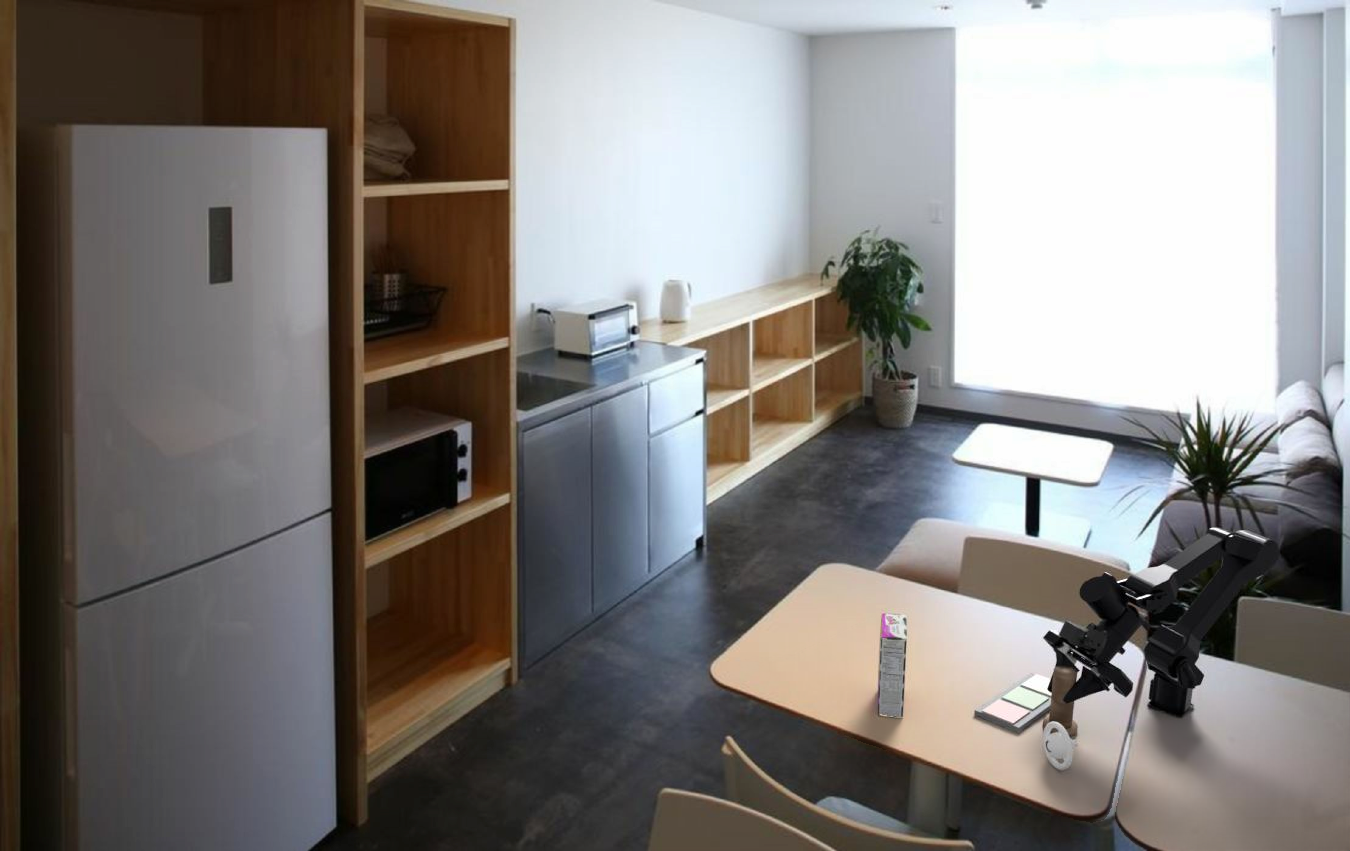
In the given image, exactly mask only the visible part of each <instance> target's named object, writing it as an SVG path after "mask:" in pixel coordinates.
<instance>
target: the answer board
mask: <svg viewBox="0 0 1350 851" xmlns="http://www.w3.org/2000/svg"><path fill="white" fill-rule="evenodd" d="M1050 680H1051V678H1049V677H1046V676H1042V675H1041V674H1040V675H1039V674H1034V673H1032V672H1030V673H1029V674H1027V675H1026V676H1025V677H1023V678H1021V679H1020V680H1018V681H1017V682H1015V683H1014V684H1012V685H1011V686H1009V687H1008V688H1006V689H1005V690H1003V691H1001V692H999V693H998V694H997V695H996V696H994V697H992V698H991V699H989V700H988V701H986V702H985V703H983V704H982V705H980V706H979V707H977V708H976V709H975V710H974V713H973V714H975V715H974V716H976V717H978V716H979V717H978V718H981V719H984V720H986V721H989V722H991V723H994V724H997V725H998V726H1000V727H1003V728H1006V729H1008V730H1011V731H1014V732H1016V733H1021V731H1023V730H1025V729H1026V728H1027V727H1029V726H1030V725H1031V724H1033V723H1034V722H1035V721H1037V720H1039V718H1040V717H1042V716H1043V715H1045V714H1046V713H1048V712H1050V704H1051V694H1052V693H1050V692H1049V691H1048V690H1047V688H1048V685H1049V682H1050Z"/></svg>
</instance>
